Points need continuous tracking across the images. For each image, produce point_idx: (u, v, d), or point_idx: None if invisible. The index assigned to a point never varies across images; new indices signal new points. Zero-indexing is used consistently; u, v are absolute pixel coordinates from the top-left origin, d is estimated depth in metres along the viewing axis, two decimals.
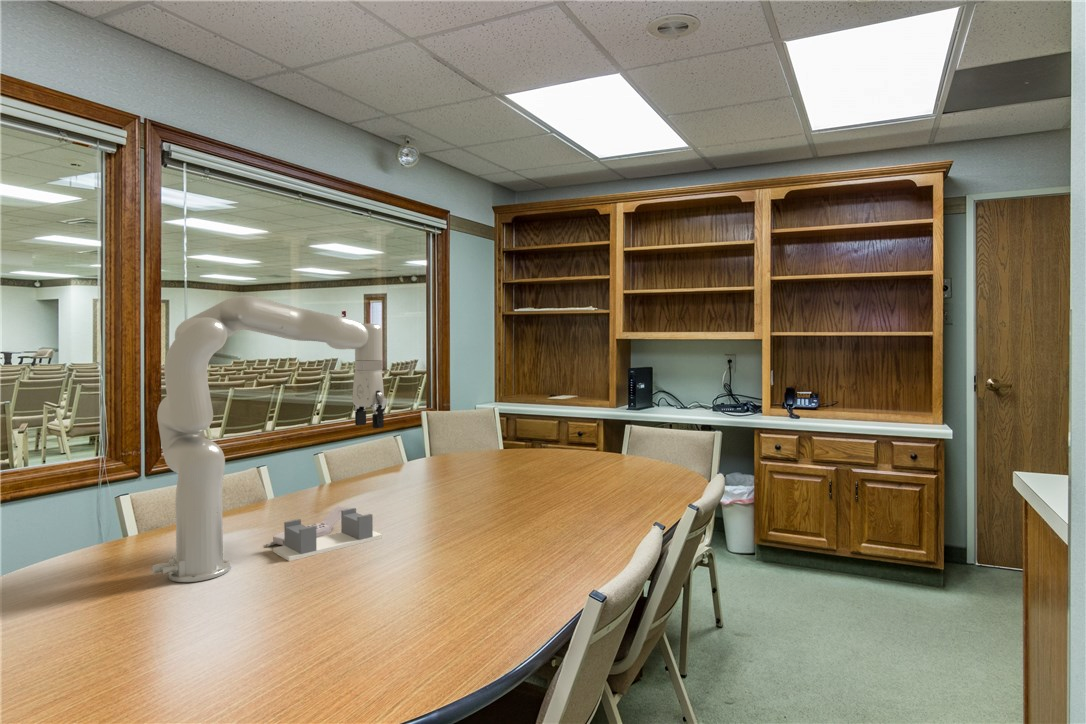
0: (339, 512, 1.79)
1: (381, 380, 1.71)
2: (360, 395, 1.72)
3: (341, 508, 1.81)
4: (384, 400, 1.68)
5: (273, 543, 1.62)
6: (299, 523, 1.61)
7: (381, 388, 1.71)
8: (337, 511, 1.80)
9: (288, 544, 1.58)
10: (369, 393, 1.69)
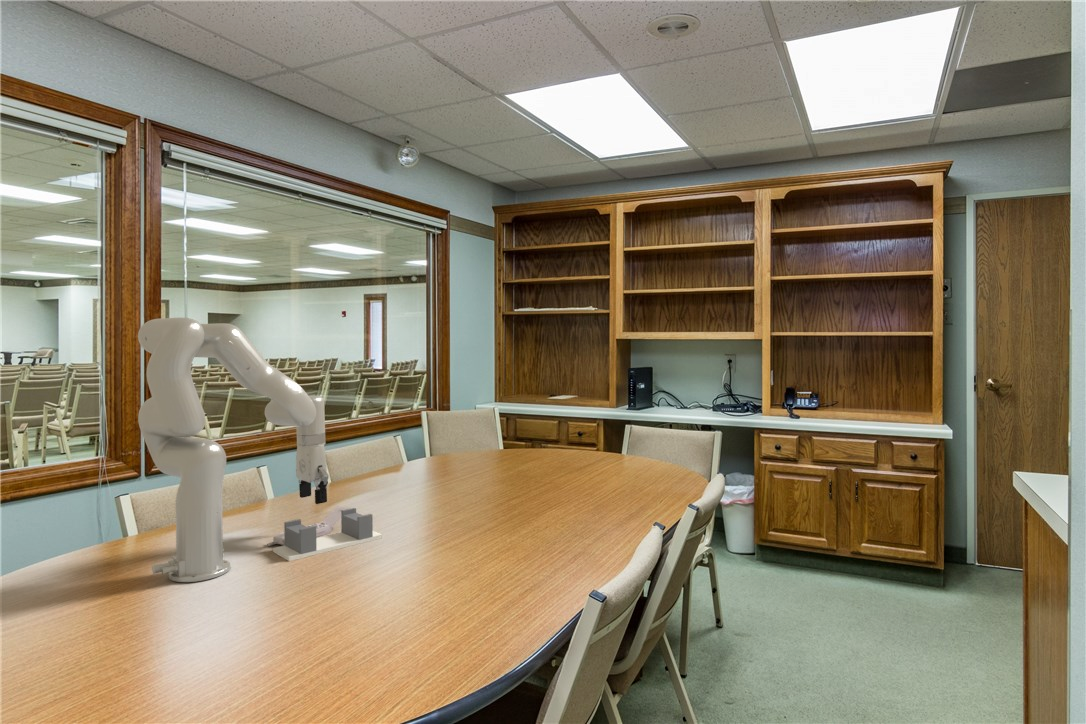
0: (339, 512, 1.79)
1: (323, 454, 1.68)
2: (302, 469, 1.69)
3: (341, 508, 1.81)
4: (326, 476, 1.65)
5: (273, 543, 1.62)
6: (299, 523, 1.61)
7: (323, 462, 1.68)
8: (337, 511, 1.80)
9: (288, 544, 1.58)
10: (310, 469, 1.66)
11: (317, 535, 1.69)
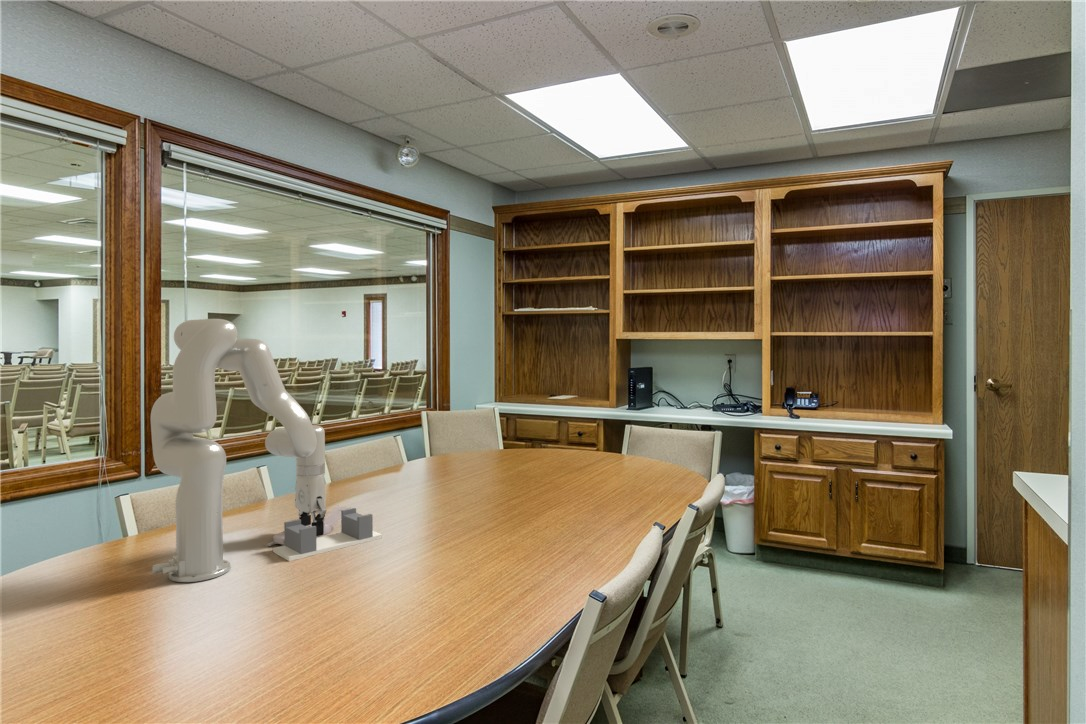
0: (339, 512, 1.80)
1: (323, 485, 1.68)
2: (301, 500, 1.69)
3: (341, 508, 1.81)
4: (323, 511, 1.65)
5: (274, 543, 1.62)
6: (299, 523, 1.61)
7: (322, 493, 1.68)
8: (337, 511, 1.80)
9: (288, 544, 1.58)
10: (309, 500, 1.66)
11: None
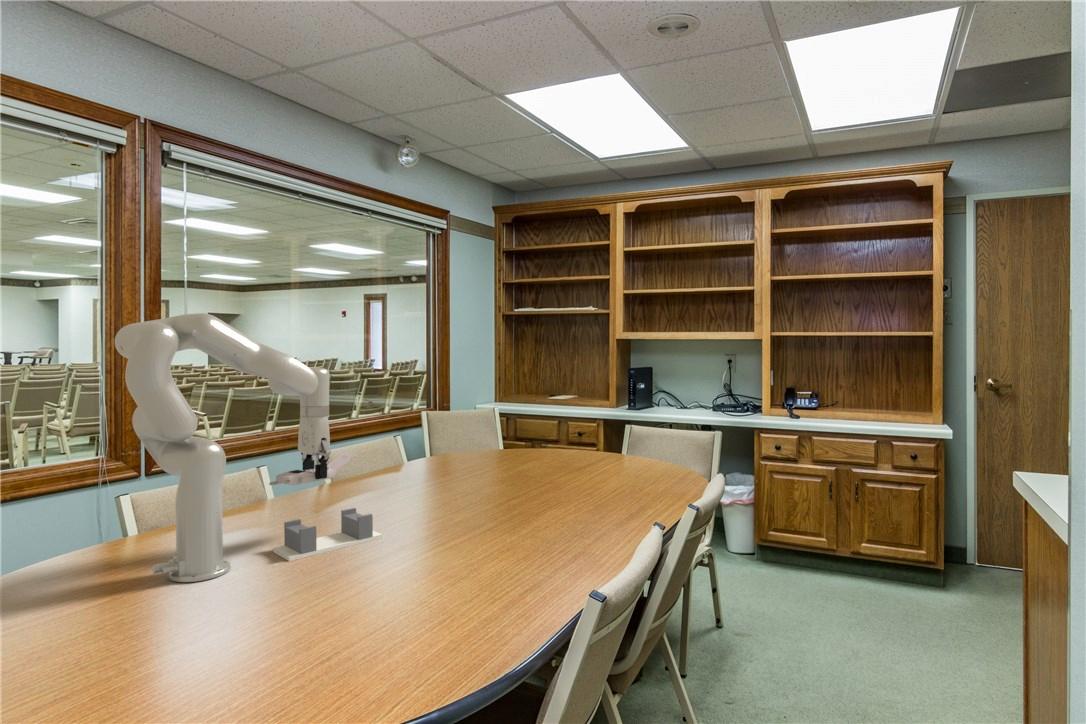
0: (344, 458, 1.77)
1: (327, 427, 1.66)
2: (305, 442, 1.66)
3: (346, 454, 1.78)
4: (328, 453, 1.63)
5: (276, 482, 1.60)
6: (299, 523, 1.61)
7: (327, 435, 1.66)
8: (342, 457, 1.78)
9: (288, 544, 1.58)
10: (314, 441, 1.63)
11: None
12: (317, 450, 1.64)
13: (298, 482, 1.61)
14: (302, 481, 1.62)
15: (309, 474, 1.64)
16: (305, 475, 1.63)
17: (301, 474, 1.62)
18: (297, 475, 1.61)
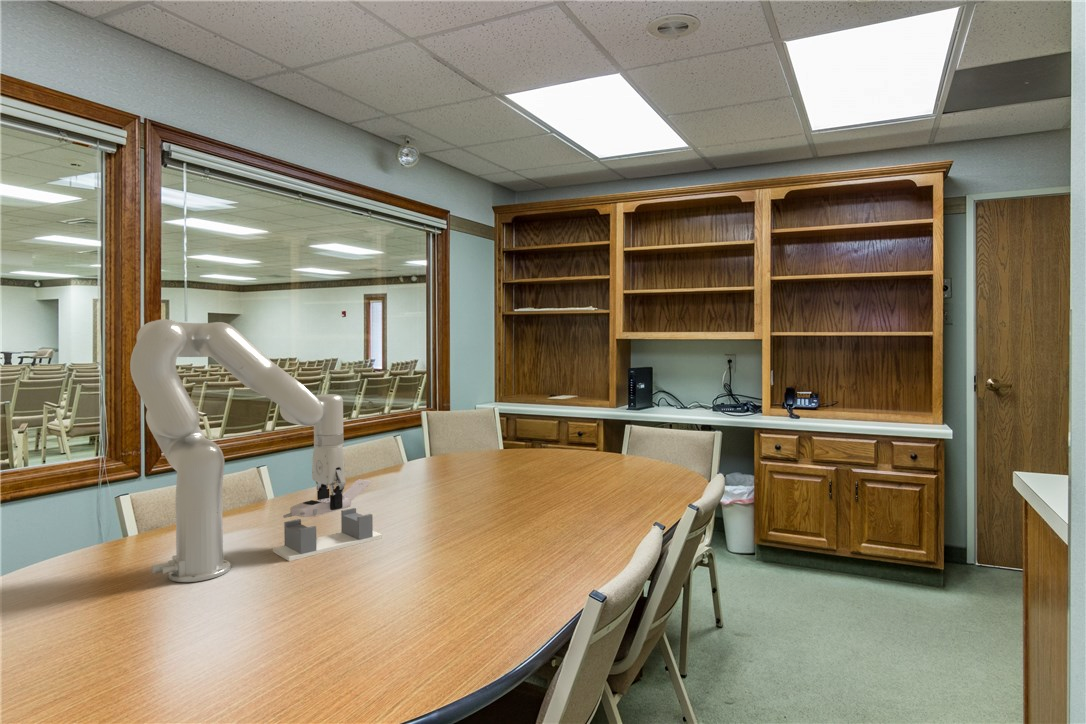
0: (360, 485, 1.71)
1: (342, 455, 1.60)
2: (319, 471, 1.61)
3: (362, 481, 1.73)
4: (343, 483, 1.57)
5: (290, 514, 1.55)
6: (299, 523, 1.61)
7: (342, 464, 1.60)
8: (357, 484, 1.72)
9: (288, 544, 1.58)
10: (328, 471, 1.58)
11: None
12: (332, 480, 1.58)
13: (313, 514, 1.55)
14: (317, 513, 1.57)
15: (324, 505, 1.58)
16: (320, 506, 1.57)
17: (316, 506, 1.56)
18: (312, 507, 1.55)
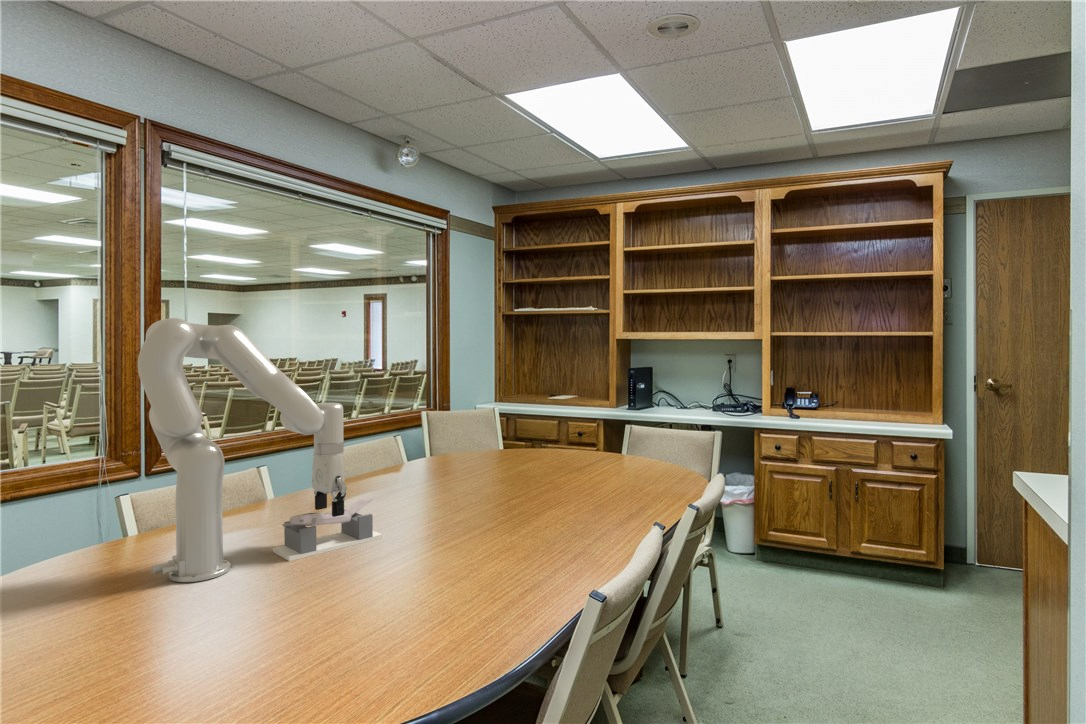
0: (360, 503, 1.72)
1: (342, 464, 1.60)
2: (319, 480, 1.61)
3: (362, 500, 1.74)
4: (344, 487, 1.57)
5: (290, 523, 1.55)
6: None
7: (341, 473, 1.60)
8: (358, 503, 1.73)
9: (288, 544, 1.58)
10: (328, 480, 1.58)
11: (335, 520, 1.62)
12: (331, 489, 1.58)
13: (312, 523, 1.56)
14: (316, 522, 1.57)
15: (323, 515, 1.59)
16: (319, 516, 1.58)
17: (315, 514, 1.57)
18: (311, 515, 1.56)
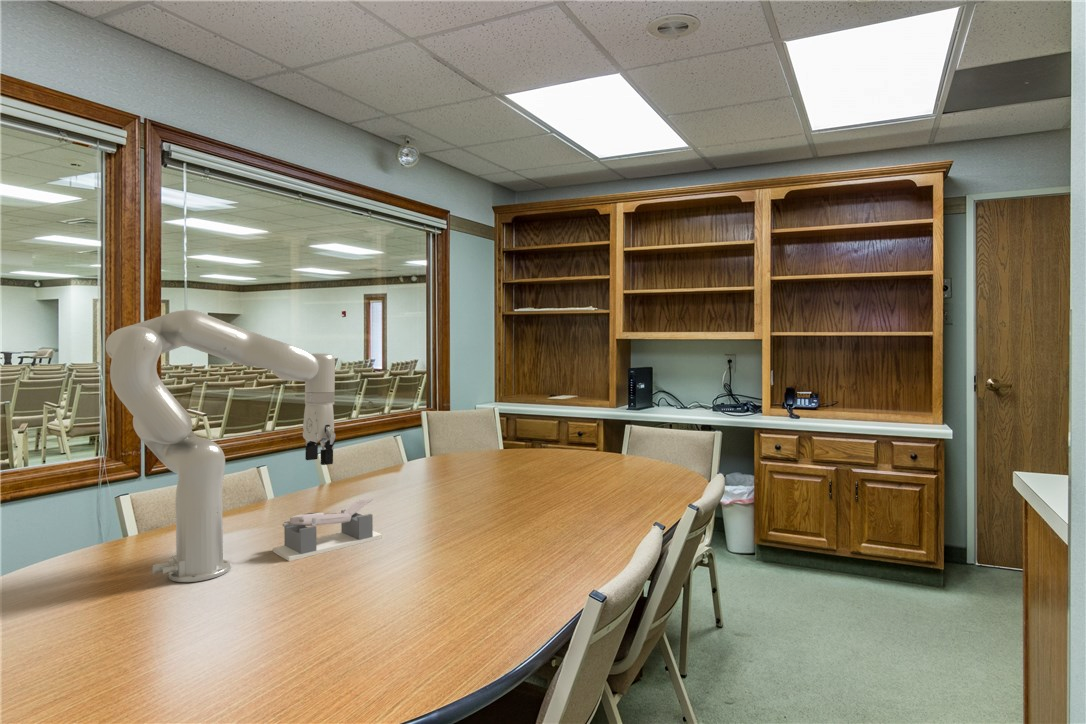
0: (360, 503, 1.72)
1: (331, 413, 1.62)
2: (309, 429, 1.62)
3: (362, 500, 1.74)
4: (332, 435, 1.58)
5: (290, 523, 1.55)
6: None
7: (331, 422, 1.61)
8: (358, 503, 1.73)
9: (288, 544, 1.58)
10: (317, 428, 1.59)
11: (335, 520, 1.62)
12: (320, 437, 1.59)
13: (312, 523, 1.56)
14: (316, 522, 1.57)
15: (323, 515, 1.59)
16: (319, 516, 1.58)
17: (315, 514, 1.57)
18: (311, 515, 1.56)
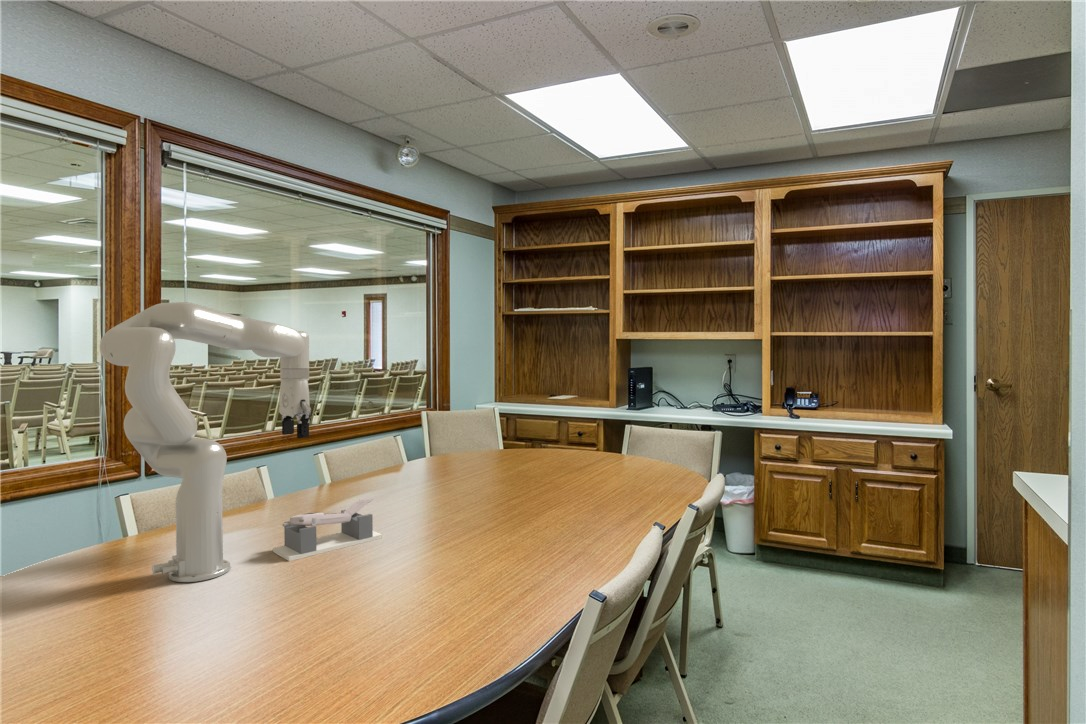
0: (360, 503, 1.72)
1: (307, 389, 1.68)
2: (285, 404, 1.68)
3: (362, 500, 1.74)
4: (308, 409, 1.64)
5: (290, 523, 1.55)
6: None
7: (306, 397, 1.67)
8: (358, 503, 1.73)
9: (288, 544, 1.58)
10: (293, 402, 1.65)
11: (335, 520, 1.62)
12: (296, 411, 1.65)
13: (312, 523, 1.56)
14: (316, 522, 1.57)
15: (323, 515, 1.59)
16: (319, 516, 1.58)
17: (315, 514, 1.57)
18: (311, 515, 1.56)
